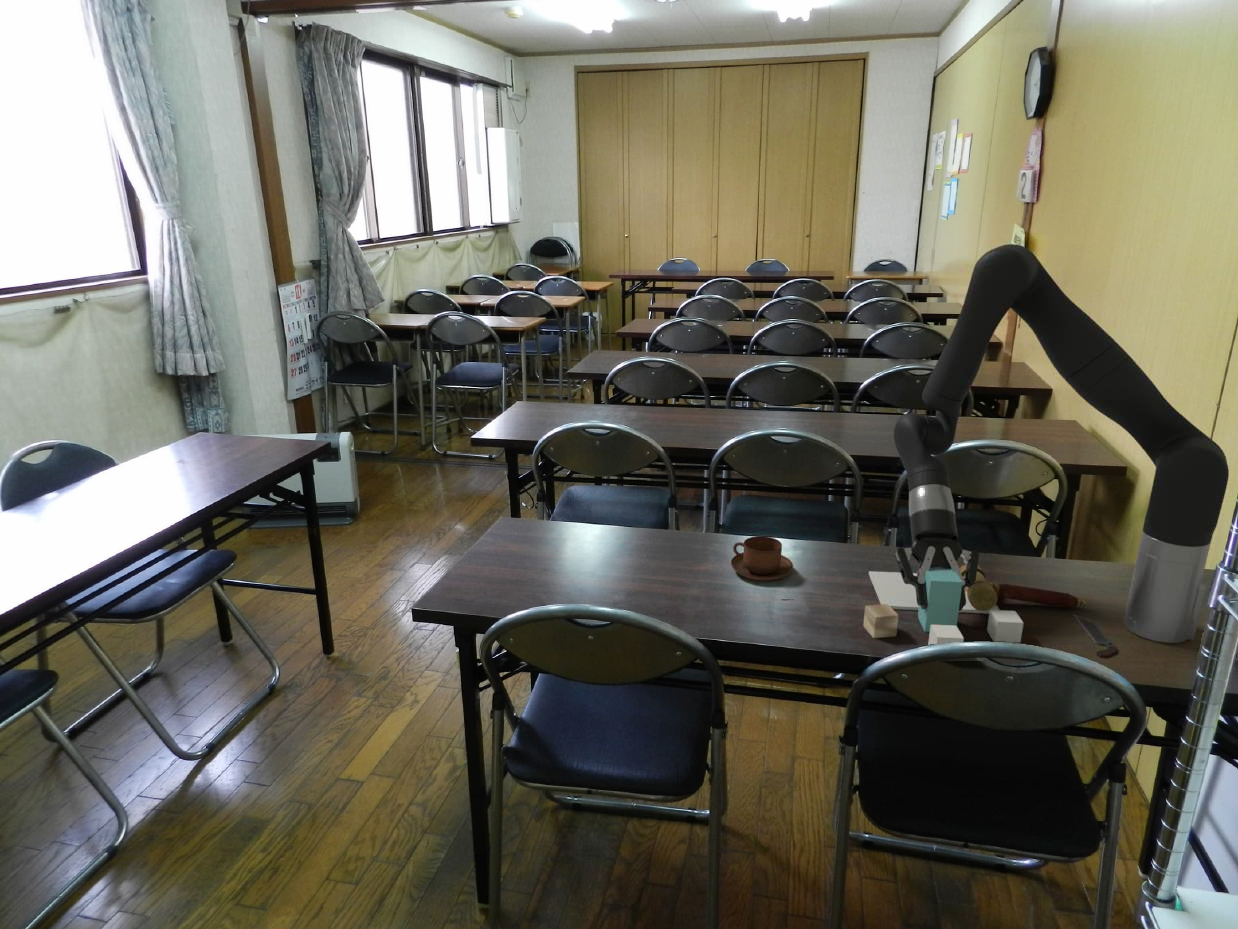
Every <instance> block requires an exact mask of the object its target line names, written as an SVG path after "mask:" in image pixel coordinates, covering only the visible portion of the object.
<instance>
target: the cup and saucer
mask: <svg viewBox="0 0 1238 929" xmlns="http://www.w3.org/2000/svg"><path fill="white" fill-rule="evenodd" d="M738 546H741V547H742V548H743V552H739V551H738V550H737V547H738ZM732 549H733V552H734V554H735V555H734V556H733V557H732V558H731V560H730V564H731V567H732V569H733V570H734V571H735V572H736V573H737V574H739V575H740V576H742V577H744V578H748V579H750V580H756V581H761V582H762V581H766V582H767V581H768V582H769V581H776V580H780V579H782V578H785V577H787V576H788V575H790V574H791V572H792V571H793V568H794V564H793V561H791V559H790V558H788V557H786V556H785V555H783V554H782V553H783V552H782V551H783V550H782V549H783V543H782V542H781V541H780V540H779V539H776V538H775V537H771V536H761V535H758V536H757V535H756V536H752V537H749V538H746V539H745V540H744V541H743V542H740V541H738V542H735V543H734V544H733V547H732Z"/></svg>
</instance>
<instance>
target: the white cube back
mask: <svg viewBox="0 0 1238 929" xmlns="http://www.w3.org/2000/svg"><path fill="white" fill-rule="evenodd" d="M928 636H929V637H928V644H927V646H928V645H930V644H944V643H948V642H963V643H964V636H963V634H962V633H961V631H960V629H959V628H958V625H957V626H955V625H931V626H930V632H929V635H928Z"/></svg>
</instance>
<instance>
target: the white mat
mask: <svg viewBox="0 0 1238 929" xmlns="http://www.w3.org/2000/svg"><path fill="white" fill-rule="evenodd" d="M917 573H918V572H917ZM917 573H916V572H913V575H914V576H917ZM868 576H869V578H870V580H871V583H872V586H873V588H874V591H875V594H876V595H877V598H878V600H879V604H888V605H889V606H890V607H891V608H892V609H893V610H902V611H903V610H904V611H919V605H918V604H917V599H916V589H915V587H914V586H913V585H911V584H905V583H904V581H903V579H902V576H901V573H900V572H897V571H896V572H893V571H891V572H890V571H871V570H870V571H868ZM965 597H966V605H965V606H964V607H963V609H962V610H961V611H958V613H967V614H969V613H970V614H988V615H989V613H990V610H1000V608H999V606H998V605H997V603H996V604H995V606H994V607H992V608H991V609H989V610H984V611H981V610H977V609H975V608H974V607H973V606H972V605H971V604H970V602H969V600H968V597H967V592H966V590H965Z"/></svg>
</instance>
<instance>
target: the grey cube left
mask: <svg viewBox="0 0 1238 929" xmlns="http://www.w3.org/2000/svg"><path fill="white" fill-rule="evenodd" d="M1023 629H1024V622H1023V620H1022V619H1021V617H1020V615H1019V614H1018V613H1017V612H1016V610H1003V609H1002V610H1001V609H999V610H990V613H989V614H988V622H987V627H986V631H987V633H988V634H989V636H990V638H991V639H992V641H993V642H994V641H1006V642H1020V643H1021V641H1022V634H1023Z"/></svg>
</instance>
